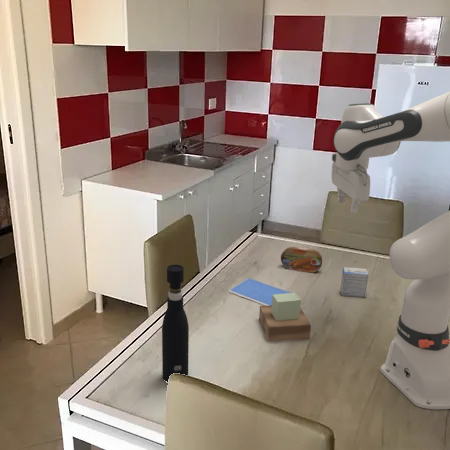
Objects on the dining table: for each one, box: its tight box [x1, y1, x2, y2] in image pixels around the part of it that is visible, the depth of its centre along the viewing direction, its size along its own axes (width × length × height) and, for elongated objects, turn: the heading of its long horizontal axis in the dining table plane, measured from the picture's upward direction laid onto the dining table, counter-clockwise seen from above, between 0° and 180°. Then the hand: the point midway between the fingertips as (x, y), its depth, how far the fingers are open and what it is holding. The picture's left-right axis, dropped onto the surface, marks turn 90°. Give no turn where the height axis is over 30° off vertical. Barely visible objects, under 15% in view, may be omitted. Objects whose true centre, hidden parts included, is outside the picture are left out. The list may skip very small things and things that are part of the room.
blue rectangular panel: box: [228, 277, 291, 306], centre depth 171 cm, size 19×13×1 cm, turn 54°
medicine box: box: [340, 266, 369, 298], centre depth 172 cm, size 8×4×9 cm, turn 84°
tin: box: [280, 246, 323, 274], centre depth 189 cm, size 15×3×8 cm, turn 73°
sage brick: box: [271, 292, 302, 321], centre depth 149 cm, size 4×7×6 cm, turn 104°
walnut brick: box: [258, 305, 312, 342], centre depth 151 cm, size 12×12×5 cm
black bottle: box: [161, 264, 190, 382], centre depth 124 cm, size 6×6×30 cm
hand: (347, 207), depth 151 cm, fingers open, 8 cm apart
